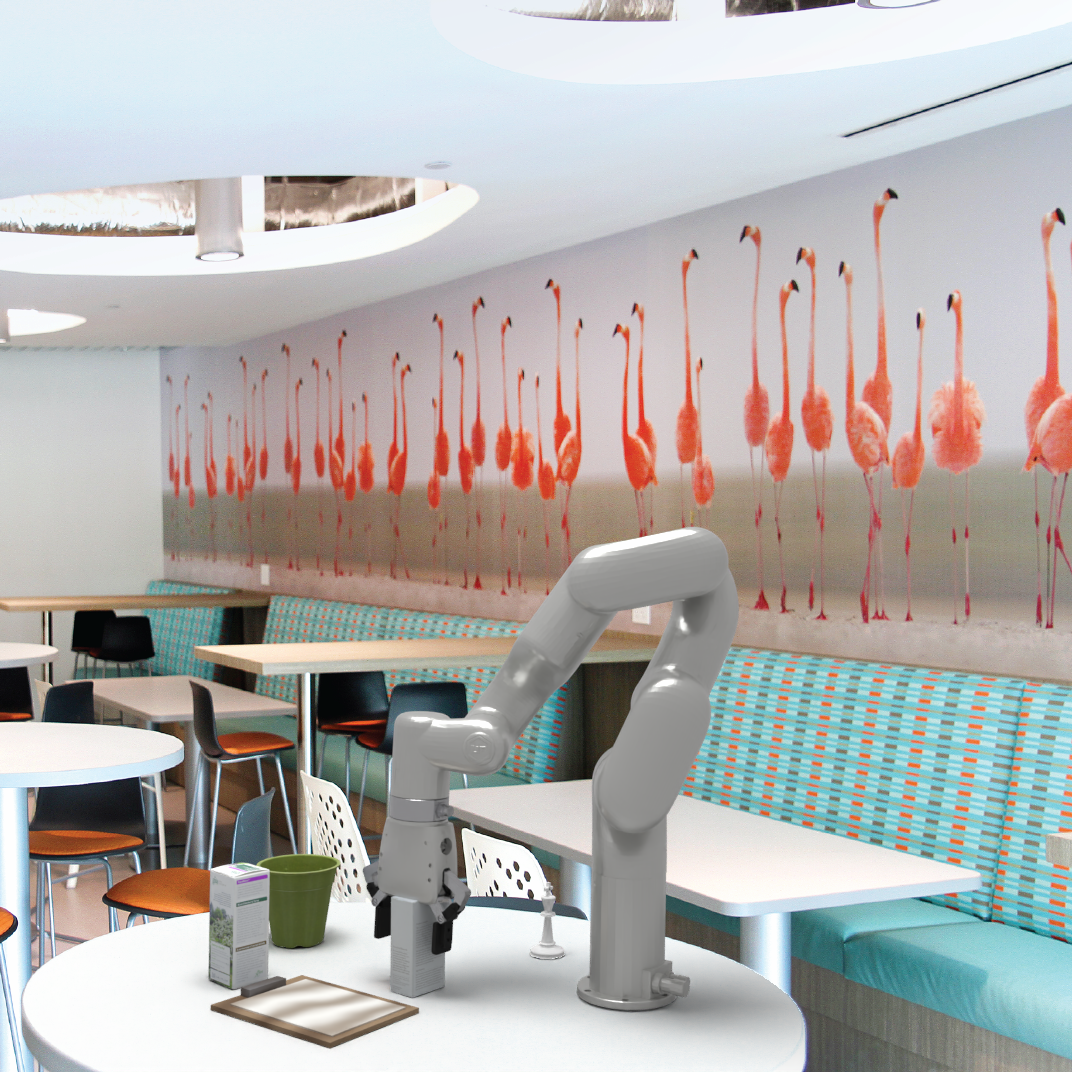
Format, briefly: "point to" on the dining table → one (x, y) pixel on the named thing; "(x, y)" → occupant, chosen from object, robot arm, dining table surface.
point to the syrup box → (239, 924)
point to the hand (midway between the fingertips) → (412, 944)
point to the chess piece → (547, 930)
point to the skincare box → (414, 949)
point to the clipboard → (313, 1009)
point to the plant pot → (299, 897)
